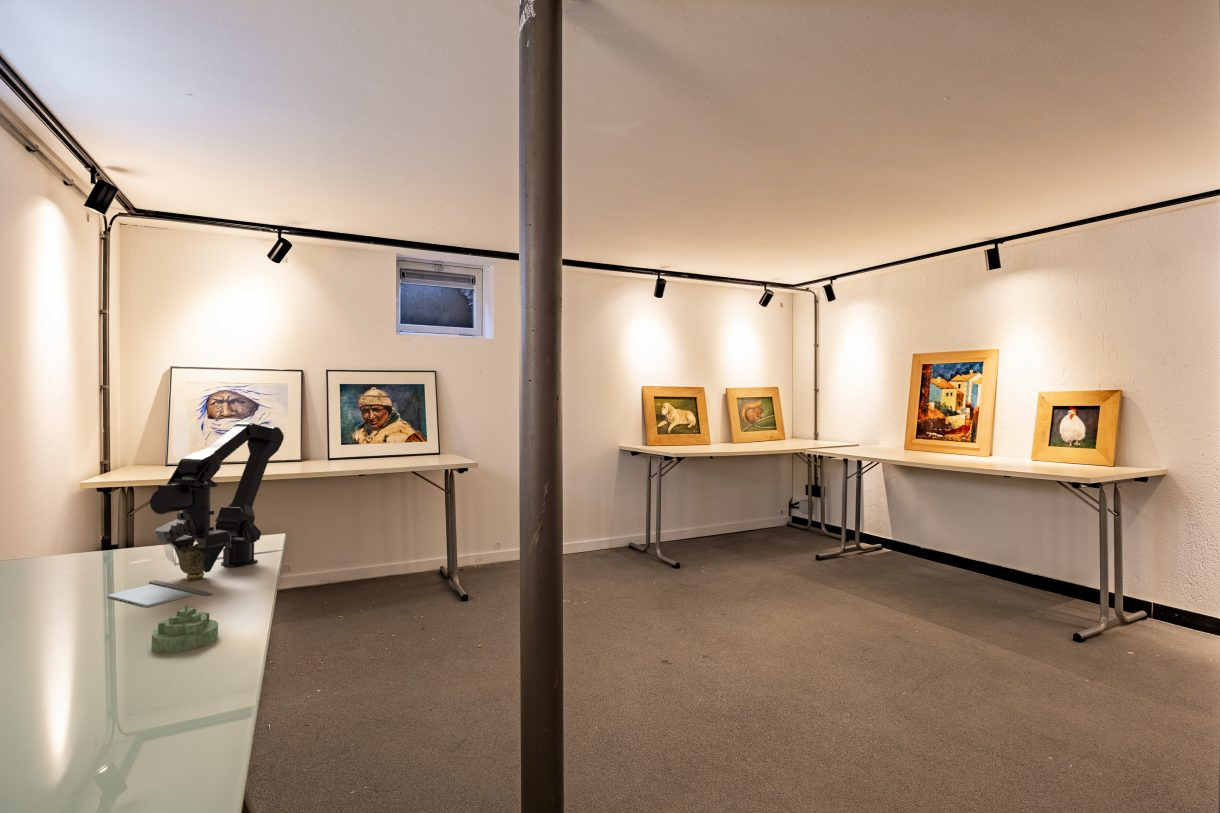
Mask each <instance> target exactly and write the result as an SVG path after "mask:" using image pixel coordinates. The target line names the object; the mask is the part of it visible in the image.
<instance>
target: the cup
mask: <svg viewBox="0 0 1220 813" xmlns="http://www.w3.org/2000/svg"><path fill="white" fill-rule="evenodd" d="M198 546H199V545H198V543H194V545H193V547H192V546H191V545H189V546H188V549H187V548H186V547H185V546H184V547H183V548H182V547H180V550H179V548H178V549H177V551H178V557H177V559H178V564H179V569H180V570H181V571H182V573H185V574H186V576H185V577H186V579H187V580H188V581H196V580H197V581H198V580H201V579H202V578H204V576H205V571H204V564H203V554H202V551H200V550H199V549H198V548H197V547H198Z"/></svg>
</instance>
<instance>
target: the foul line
mask: <svg viewBox="0 0 1220 813" xmlns="http://www.w3.org/2000/svg"><path fill="white" fill-rule="evenodd" d="M148 583H149V584H151V583H153V584H152V585H155V584H157V586H159V585H162V586H161V587H164V586H166V587H165V588H168V587H169V588H170V589H174V590H179V591H183V592H187V593H191V594H196V595H199V596H204V597H208V596H212V595H214V593H213V592H209V591H206V590H201V589H196V588H192V587H187V586H183V585H179V584H174V583H170V582H165V581H161V580H156V579H155V580H151V581H148Z"/></svg>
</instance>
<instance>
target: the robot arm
mask: <svg viewBox="0 0 1220 813" xmlns="http://www.w3.org/2000/svg"><path fill="white" fill-rule="evenodd" d="M284 437H285V435H284V433H283V431H282V429H280V427H278V426H276V427H275V426H274V427H273V426H264V425H260V424H256V423H253V422H237V423H235V424H234V425H233V427H232V428H231V429H230V430H228V431H227V432H226V433H224V434H222V436H220V437H219V438H218V439H217V440H216V441H214V442H213V443H212V444H210V445H209V446H208V447H206V448H204V449H202V450H199V451H195V452H192V453H190V454H188V455H187V456H184V457H183V458H181V459H179V461H178V465H177V466H176V469H175V470H174V472H173V473H172V475H171V477H170V478H169V480H168V481H167V482H166V484H163V483H162V484H158V486H157V490H155V491H154V492H153V494H152V495H151V498H150V499H149V506H150V508H151V510H152V511H153V512H154V513H155V514H158V515H166V514H170V513H174V512H178V513H177V514H176V519H174V520H171V521H169V522H166V523H165V524H163V525H161V526H160V527H157V528H155V529H154V533H155V534H156V537H157V540H158V542H159V543H165V544H168V545H170V546H171V547H173V548H174V551H175V553H176V556H177V558H178V551H177V549H178V548H179V550H180V547H182V548H183V547H184V546H185V547H186V548H187V549H188V546H189V545H191V546H192V547H193V546H194V545H195V540H196V544H198V545H199V546H198V547H197V548H198V549H199V550H200V551H202V554H203V564H204V573H209V572H211V571H212V568H213V566H214V565H215V563H216V561H217V559H218V557H219V556H220V554H221V552H223V555H222V561H221V562H220V565H222V566H228V567H231V568H238V567H242V566H245V565H251V564H254V563H258V561H259V560H258V559H255V543H256V542H257V541H259V540H260V538H261V536H262V532H261V530H260V529H259V528H258V527H257V525H255V519H256V515H255V513H254V509H253V506H254V502H255V500H256V497H257V494H258V491H259V488H260V485H261V483H262V481H263V477H264V475H265V471H266V468H267V465H268V463H269V460H270V459H271V457H273V456H274V455H275V454H276V453H277V452H278V451H279V450H280V447H281V446H282V444H283V441H284ZM246 442H247V444H246V445H247V448H248V453H249V455H248V458H247V461H246V463H245V467H244V469H243V471H242V474H241V476H240V477H241V478H240V481H239V482H238V486H237V488H236V491H235V493H234V496H233V499H232V502H231V503H230V504H229V505H228V506H222V507H221V508H219V512H218V515H217V517H216V519H215V520H214V522H216V523H215V525H214V526H215V527H214V526H212V525H211V516H213V515H215V510H214V509H211V488H216V487H218V484H217V482H215V481H214V480H213V479H212V478H213V477H214V476H215V475H216V474H217V473H218V471H219V470H220V469H221V467H222V466H221V465H222V462H223V461H224V460H226V459H227V458H228V457H229V456H230V455H232V454H233V453H234V452H235V451H236V450H238V449H239V448H240V447H242V446H243V445H244V444H245V443H246Z"/></svg>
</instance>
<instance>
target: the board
mask: <svg viewBox="0 0 1220 813" xmlns="http://www.w3.org/2000/svg"><path fill="white" fill-rule="evenodd" d="M190 596H192V593H190V592H186V591H181V590H177V589H173V588H168V587H164V586H159V585H155V584H151V583H150V584H148V585H143V586H140V587H135V588H130V589H127V590H122V591H119V592H114V593H110V594H107V596H106V597H107V598H109V599H112V598H113V600H116V599H117V601H120V600H122V601H121V602H124V601H126V602H125V603H128V602H131V603H130V604H132V603H134V604H133V605H136V604H137V606H140V605H141V606H140V607H144V608H150V607H153V606H157V605H160V604H164V603H167V602H168V603H169V602H172V601H176V600H179V599H184V598H186V597H190Z"/></svg>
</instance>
